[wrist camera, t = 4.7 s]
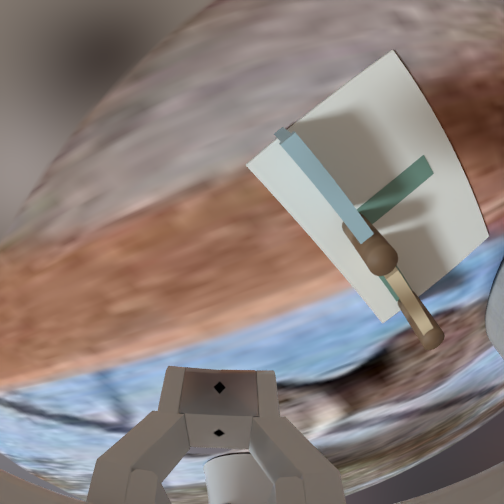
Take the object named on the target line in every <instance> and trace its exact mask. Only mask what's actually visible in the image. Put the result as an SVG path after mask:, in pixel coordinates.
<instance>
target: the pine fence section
mask: <svg viewBox="0 0 504 504" xmlns="http://www.w3.org/2000/svg"><path fill="white" fill-rule="evenodd" d="M359 214H360V215H361V216H362V218H363V219H364V221H365V222H366V223H367V225H368V226H369V228H370V229H371V230H372V232H373V233H374V234H373V235H372V236H371V237H369V238H368V239H367V240H366V241H364V242H363V243H362V244H360V243H359V241H358V240H357V239H356V237H355V236H354V235H353V233H352V232H351V231H350V229H349V228H348V227H347V225H346V224H345V223H344V222H343V223H342V229H343V231H344V233H345V234H346V236H347V237H348V239H349V240H350V242H351V243H352V245H353V246H354V247H355V249H356V250H357V252H358V253H359V255H360V256H361V258H362V259H363V261H364V262H365V264H366V265H367V267H368V268H369V270H370V272H371V273H372V274H374V275H376V276H384V277H385V278H386V280H387V281H388V283H389V284H390V286H391V287H392V289H393V290H394V291H395V293H396V294H397V296H398V297H399V300H398V302H397V303H398V306H399V308H400V309H401V311H402V313H403V314H404V316H405V317H406V319H407V321H408V322H409V324H410V325H411V327H412V329H413V330H414V332H415V334H416V335H417V337H418V339H419V340H420V342H421V344H422V345H423V347H424V349H426V350H432V349H435V348H436V347H438V346H439V345H440V344H441V343H442V341H443V340H444V333H443V331H442V330H441V328H440V327H439V325H438V324H437V323H436V321H435V320H434V318H433V317H432V315H431V314H430V313H429V311H428V310H427V308H426V307H425V306H424V304H423V303H422V302H421V300H420V299H419V297H418V296H417V295H416V293H415V292H414V291H411V289H410V288H409V286H408V285H407V283H406V281H405V280H404V278H403V277H402V275H401V274H400V272H399V270H398V269H397V268H396V265H397V263H398V254H397V252H396V251H395V249H394V248H393V247H392V246H391V245H390V244H389V243H388V241H387V240H386V239H385V238H384V237H383V236H382V235H381V234H380V233H379V231H378V230H377V229H376V228H375V227H374V226H373V225H372V224H371V223H370V222H369V220H368V219H367V218H366V217H365V216H364V215H363V214H361V213H359Z"/></svg>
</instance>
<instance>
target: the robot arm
mask: <svg viewBox="0 0 504 504" xmlns="http://www.w3.org/2000/svg"><path fill="white" fill-rule="evenodd" d="M190 447H206V448H230V449H249V452H250V453H251V454H234V455H227V456H221V457H218V458H214V459H212V460H210V461H208V462H207V463H205V465H204V466H203V470H204V474H205V481H206V484H207V491H208V500H209V504H346V501H345V496H344V491H343V486H342V481H341V476H340V472H339V470H338V469H337V468H336V467H335V466H334V465H333V464H332V463H331V462H329V461H328V460H327V459H326V458H325V457H324V456H323V455H322V454H321V453H320V452H319V451H318V450H317V449H316V448H315V447H314V446H313V445H312V444H311V443H310V442H309V441H308V440H307V439H306V438H305V437H304V436H303V435H302V433H301V432H300V431H299V430H298V429H297V428H296V427H295V426H294V425H293V424H292V423H291V422H290V421H289V420H288V419H287V418H286V417H280V411H279V402H278V394H277V385H276V377H275V372H274V371H255V370H211V369H199V368H188V367H175V366H168V368H167V370H166V373H165V378H164V383H163V388H162V392H161V397H160V402H159V407H158V411H152V412H151V413H149V414H148V415H147V416H146V417H145V418H144V419H143V420H142V421H141V422H139V423H138V424H137V425H136V426H135V427H134V428H133V429H131V430H130V431H129V432H128V433H127V434H126V435H125V436H123V437H122V438H121V439H120V440H119V441H118V442H117V443H115V444H114V445H113V446H112V447H111V448H110V449H108V450H107V451H106V452H105V453H104V454H103V455H101V456H100V457H99V458H98V459H97V461H96V465H95V468H94V472H93V476H92V480H91V484H90V488H89V492H88V496H87V500H86V501H82V500H79V499H75V498H72V497H69V496H66V495H63V494H60V493H57V492H54V491H52V490H49V489H46V488H43V487H41V486H38V485H36V484H33V483H31V482H28V481H26V480H24V479H21V478H19V477H17V476H14V475H12V474H10V473H8V472H6V471H4V470H2V469H0V504H171V502H170V500H169V498H168V496H167V494H166V492H165V490H164V488H163V486H162V484H161V483H162V482H163V480H164V479H165V478H166V477H167V476H168V475H169V473H170V472H171V471H172V470H173V469H174V467H175V466H176V465H177V464H178V463H179V461H180V460H181V459H182V458H183V456H184V455H185V454H186V453H187V452H188V450H189V449H190ZM395 504H504V461H503V462H501V463H499V464H497V465H496V466H493V467H491V468H489V469H487V470H485V471H483V472H481V473H479V474H477V475H474V476H472V477H470V478H467V479H465V480H462V481H460V482H458V483H455V484H453V485H450V486H447V487H445V488H442V489H439V490H437V491H434V492H431V493H428V494H425V495H422V496H419V497H416V498H413V499H409V500H406V501H402V502H399V503H395Z"/></svg>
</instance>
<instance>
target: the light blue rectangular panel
mask: <svg viewBox="0 0 504 504" xmlns="http://www.w3.org/2000/svg"><path fill="white" fill-rule="evenodd" d="M274 135H275V136H276V137H277V138H278V139H279V140H280V143H279V144H280V145H281V146H282V148H283V149H284V150H285V151H286V152H287V153H288V154H289V156H290V157H291V158H292V159H293V160H294V161H295V163H296V164H297V165H298V166H299V167H300V168H301V170H302V171H303V172H304V173H305V174H306V176H307V177H308V178H309V179H310V180H311V182H312V183H313V184H314V185H315V186H316V188H317V189H318V190H319V191H320V193H321V194H322V195H323V196H324V198H325V199H326V200H327V201H328V202H329V204H330V205H331V206H332V208H333V209H334V210H335V211H336V213H337V214H338V215H339V216H340V218H341V219H342V220H343V222H344V223H345V224H346V225H347V227H348V228H349V229H350V231H351V232H352V233H353V235H354V236H355V237H356V239H357V240H358V241H359V243H360V244H362V243H363V242H364V241H366V240H367V239H368V238H369V237H371V236H372V235H373V234H374V233H373V232H372V230H371V229H370V228H369V226H368V225H367V223H366V222H365V221H364V219H363V218H362V216H361V215H360V214H359V212H358V211H357V210H356V208H355V207H354V206H353V204H352V203H351V201H350V200H349V199H348V197H347V196H346V195H345V194H344V192H343V191H342V190H341V188H340V187H339V186H338V184H337V183H336V182H335V180H334V179H333V178H332V177H331V175H330V174H329V173H328V172H327V170H326V169H325V168H324V167H323V165H322V164H321V163H320V162H319V160H318V159H317V158H316V157H315V155H314V154H313V153H312V152H311V150H310V149H309V148H308V147H307V146H306V144H305V143H304V142H303V141H302V140H301V139H300V137H299V136H298V135H297V134H296V133H295V132H294V131H293V132H292V133H290V132H289V131H287V130H286V129H285V128H283V127H282V128H281V129H279V130H278V131H277V132H276V133H275V134H274Z"/></svg>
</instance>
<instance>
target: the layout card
mask: <svg viewBox="0 0 504 504" xmlns="http://www.w3.org/2000/svg"><path fill="white" fill-rule="evenodd" d="M287 131H289V132H290V133H292V132H293V131H294V132H295V133H296V134H297V135H298V136H299V137H300V139H301V140H302V141H303V142H304V143H305V144H306V146H307V147H308V148H309V149H310V150H311V152H312V153H313V154H314V155H315V157H316V158H317V159H318V160H319V162H320V163H321V164H322V165H323V167H324V168H325V169H326V170H327V172H328V173H329V174H330V175H331V177H332V178H333V179H334V180H335V182H336V183H337V184H338V186H339V187H340V188H341V190H342V191H343V192H344V194H345V195H346V196H347V197H348V199H349V200H350V201H351V203H352V204H353V206H354V207H355V208H356V210H357V211H358V212H359V213H361V214H363V215H364V216H365V217H366V218H367V219H368V220H369V222H370V223H371V224H372V225H373V226H374V227H375V228H376V229H377V230H378V231H379V233H380V234H381V235H382V236H383V237H384V238H385V239H386V240H387V241H388V243H389V244H390V245H391V246H392V247H393V248H394V249H395V251H396V252H397V254H398V263H397V265H396V268H397V269H398V270H399V272H400V274H401V275H402V277H403V278H404V280H405V281H406V283H407V285H408V286H409V288H410V289H411V291H414V292H415V293H416V295H417V296H418V297H419V296H420V295H421V294H422V293H424V292H425V291H426V290H428V289H429V288H430V287H431V286H433V285H434V284H435V283H436V282H437V281H439V280H440V279H441V278H442V277H444V276H445V275H446V274H447V273H448V272H449V271H451V270H452V269H453V268H454V267H455V266H457V265H458V264H459V263H460V262H461V261H462V260H463V259H465V258H466V257H467V256H468V255H469V254H470V253H471V252H472V251H474V250H475V249H476V248H477V247H478V246H479V245H480V244H481V243H482V242H483V241H484V240H485V239H487V238H488V237H489V235H488V232H487V229H486V226H485V223H484V220H483V218H482V215H481V212H480V210H479V207H478V204H477V202H476V199H475V197H474V194H473V192H472V189H471V187H470V185H469V182H468V180H467V178H466V175H465V173H464V171H463V169H462V167H461V164H460V162H459V160H458V158H457V156H456V154H455V152H454V150H453V148H452V146H451V144H450V142H449V140H448V138H447V136H446V134H445V132H444V130H443V128H442V127H441V125H440V123H439V121H438V119H437V118H436V116H435V114H434V112H433V111H432V109H431V107H430V105H429V104H428V102H427V100H426V99H425V97H424V95H423V94H422V92H421V91H420V89H419V87H418V86H417V84H416V83H415V81H414V80H413V78H412V77H411V75H410V74H409V72H408V71H407V69H406V68H405V66H404V65H403V63H402V62H401V61H400V59H399V58H398V56H397V55H396V54H395V52H394V51H393V50H391V51H389V52H388V53H387V54H385V55H384V56H382V57H381V58H380V59H378V60H377V61H375V62H374V63H373V64H371V65H370V66H368V67H367V68H366V69H364V70H363V71H362V72H360V73H359V74H357V75H356V76H355V77H353V78H352V79H351V80H349V81H348V82H347V83H345V84H344V85H343V86H341V87H340V88H339V89H338V90H336V91H335V92H334V93H332V94H331V95H330V96H328V97H327V98H326V99H325V100H323V101H322V102H321V103H319V104H318V105H317V106H316V107H314V108H313V109H312V110H311V111H309V112H308V113H307V114H306V115H304V116H303V117H302V118H301V119H299V120H298V121H297V122H296V123H294V124H293V125H292V126H291V127H289V128H288V129H287ZM279 143H280V140H279V139H278V138H276V139H275V140H274V141H273V142H271V143H270V144H269V145H268V146H267V147H265V148H264V149H263V150H262V151H261V152H260V153H258V154H257V155H256V156H255V157H254V158H253V159H251V160H250V161H249V162H248V163H247V164H246V166H247V167H248V168H249V169H250V170H251V171H252V172H253V174H254V175H255V176H256V177H257V178H258V179H259V180H260V181H261V182H262V183H263V184H264V185H265V187H266V188H267V189H268V190H269V191H270V192H271V193H272V194H273V195H274V196H275V197H276V199H277V200H278V201H279V202H280V203H281V204H282V205H283V206H284V207H285V209H286V210H287V211H288V212H289V213H290V214H291V215H292V216H293V218H294V219H295V220H296V221H297V222H298V223H299V224H300V225H301V227H302V228H303V229H304V230H305V231H306V232H307V233H308V235H309V236H310V237H311V238H312V239H313V240H314V242H315V243H316V244H317V245H318V246H319V247H320V248H321V250H322V251H323V252H324V253H325V254H326V255H327V257H328V258H329V259H330V260H331V261H332V263H333V264H334V265H335V266H336V267H337V268H338V270H339V271H340V272H341V273H342V274H343V276H344V277H345V278H346V279H347V280H348V282H349V283H350V284H351V285H352V286H353V288H354V289H355V290H356V291H357V292H358V294H359V295H360V296H361V297H362V299H363V300H364V301H365V302H366V304H367V305H368V306H369V307H370V308H371V310H372V311H373V312H374V313H375V315H376V316H377V317H378V318H379V320H380V321H381V322H382V323H384V322H385V321H387V320H388V319H389V318H391V317H392V316H393V315H395V314H396V313H398V312H399V311H400V310H401V309H400V308H399V306H398V303H397V302H398V300H399V297H398V296H397V294H396V293H395V291H394V290H393V289H392V287H391V286H390V284H389V283H388V281H387V280H386V278H385V277H384V276H376V275H374V274H372V273H371V272H370V270H369V268H368V267H367V265H366V264H365V262H364V261H363V259H362V258H361V256H360V255H359V253H358V252H357V250H356V249H355V247H354V246H353V245H352V243H351V242H350V240H349V239H348V237H347V236H346V234H345V233H344V231H343V229H342V223H343V220H342V219H341V218H340V216H339V215H338V214H337V213H336V211H335V210H334V209H333V208H332V206H331V205H330V204H329V202H328V201H327V200H326V199H325V198H324V196H323V195H322V194H321V193H320V191H319V190H318V189H317V188H316V186H315V185H314V184H313V183H312V182H311V180H310V179H309V178H308V177H307V176H306V174H305V173H304V172H303V171H302V170H301V168H300V167H299V166H298V165H297V164H296V163H295V161H294V160H293V159H292V158H291V157H290V156H289V154H288V153H287V152H286V151H285V150H284V149H283V148H282V146H281V145H280V144H279Z"/></svg>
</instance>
